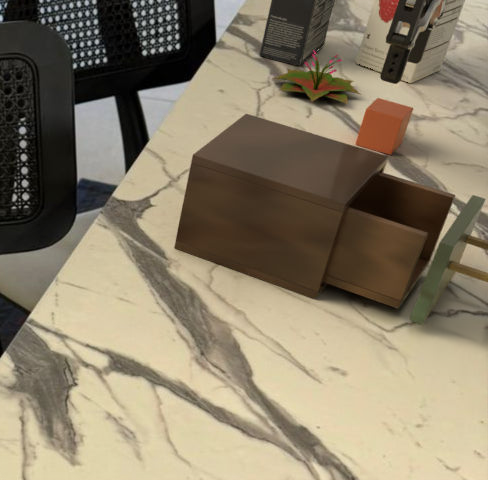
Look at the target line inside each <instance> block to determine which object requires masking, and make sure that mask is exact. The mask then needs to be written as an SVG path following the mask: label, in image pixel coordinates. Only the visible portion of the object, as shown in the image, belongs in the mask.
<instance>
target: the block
mask: <svg viewBox="0 0 488 480" xmlns="http://www.w3.org/2000/svg"><path fill="white" fill-rule="evenodd" d="M413 111H414V107H411V106H408V105H405V104H401V103H397V102H394V101H391V100H387V99H383V98H381V97H376V99H375V100H374V101H373V102H372V103H370V104H369V106H367V107H366V108H365V112H364V115H363V118H362V121H361V124H360V127H359V130H358V134H357V136H356V141H355V146H356V145H357V146H358V147H361V148H364V149H368V150H371V151H372V150H373V151H374V152H375V151H376V152H378V153H382V154H384V155H385V154H386V155H389V156H391V155H392V154H393V153H395V151H396V150H397V149H398V148H399V147H400V146H401V144H402V143H403V140H404V137H405V135H406V132H407V128H408V126H409V123H410V120H411V118H412V114H413Z"/></svg>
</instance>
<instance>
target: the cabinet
mask: <svg viewBox="0 0 488 480" xmlns="http://www.w3.org/2000/svg"><path fill="white" fill-rule="evenodd" d="M388 160H389V156H388V155H387V154H386V155H385V154H383V153H382V154H381V153H380V152H377V151H376V152H375V151H372V150H370V149H367V148H363V147H360V146H356V145H352V144H349V143H345V142H343V141H339V140H335V139H332V138H330V137H329V138H328V137H326V136H322V135H319V134H315V133H313V132H309V131H306V130H303V129H298V128H296V127H292V126H290V125H286V124H282V123H279V122H276V121H274V120H273V121H272V120H269V119H266V118H263V117H260V116H256V115H252V114H249V113H245V114H243V115H242V116H241V117H240V118H238V119H237V120H235V121H234V122H233V123H232V124H230V125H229V126H228V127H227V128H225V129H224V130H222V131H221V132H220V133H219V134H218V135H216V136H215V137H214V138H213V139H211V140H210V141H208V142H207V143H206V144H205V145H203V146H202V147H201V148H199V149H198V150H197V151H195V153H193V154H192V157H191V163H190V167H189V172H188V177H187V182H186V187H185V192H184V197H183V202H182V207H181V211H180V216H179V222H178V228H177V231H176V236H175V242H174V247H173V248H174V249H176V250H179V251H181V252H184V253H187V254H189V255H193V256H195V257H198V258H201V259H203V260H206V261H209V262H212V263H214V264H216V265H220V266H223V267H225V268H228V269H231V270H234V271H237V272H239V273H242V274H244V275H247V276H250V277H254V278H257V279H258V280H260V281H261V280H262V281H264V282H267V283H269V284H273V285H275V286H278V287H280V288H283V289H286V290H288V291H291V292H294V293H297V294H300V295H303V296H306V297H308V298H310V299H313V300H316V299H317V298H318V297H319V296H320V294H321V293H322V292H323V290H325V288H326V287H327V286H328V284H327V283H324V282H323V279H324V276H325V273H326V270H327V267H328V264H329V260H330V257H331V254H332V251H333V248H334V245H335V242H336V238H337V235H338V232H339V229H340V226H341V223H342V219H343V216H344V213H345V209H346V208H347V207H348V206H349V205H350V204H351V203H352V201H353V200H354V199H355V198H356V197H357V196H358V195H359V194H360V193H361V191H362V190H363V189H364V188H365V187H366V186H367V185H368V184H369V182H370V181H371V180H372V179H373V178H374V177H375V176H376V175H377V174H378V172H382V173H385V169H386V166H387V163H388Z"/></svg>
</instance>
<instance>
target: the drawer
mask: <svg viewBox="0 0 488 480" xmlns="http://www.w3.org/2000/svg"><path fill="white" fill-rule="evenodd" d="M455 198H456V194H454V193H450V192H447V191H445V190H444V191H443V190H442V189H441V190H440V189H438V188H434V187H432V186H427V185H424V184H422V183H418V182H415V181H411V180H409V179H405V178H401V177H399V176H395V175H392V174H389V173H386V172H383V173H382V172H378V174H377V175H376V176H375V177H374V178H373V179H372V180H371V181H370V182H369V184H368V185H367V186H366V187H365V188H364V189H363V190H362V191H361V193H360V194H359V195H358V196H357V197H356V198H355V199H354V200H353V201H352V203H351V204H350V205H349V206H348V207H347V208H346V209H345V213H344V216H343V219H342V223H341V226H340V229H339V232H338V235H337V238H336V242H335V245H334V248H333V251H332V254H331V257H330V260H329V264H328V267H327V270H326V273H325V276H324V279H323V282H324V283H327V285H331V286H333V287H336V288H338V289H342V290H344V291H346V292H350V293H353V294H355V295H358V296H361V297H364V298H367V299H369V300H372V301H376V302H379V303H381V304H384V305H386V306H390V307H392V308H395V309H399V308H400V307H401V305H402V304H403V303H404V301H405V300H406V298H407V297H408V295H409V294H410V292H411V291H412V290H413V288H414V287H415V285H416V284H417V283H418V281H419V279H420V278H421V276H422V275H423V273H424V272H425V270H426V269H427V268H428V266H429V264H430V266H429V269H428V272H427V274H426V277H425V279H424V282H423V285H422V287H421V289H420V292H419V294H418V297H417V299H416V302H415V303H414V307H413V309H412V312H411V315H410V317H409V321H410V322H414V323H416V324H419V325H423V324H424V323H425V322H426V320H427V318H428V317H429V316H430V313H431V312H432V311H433V309H434V308H435V306H436V305H437V302H438V301H439V299H440V298H441V296H442V295H443V294H444V292H445V290H446V289H447V287H448V285H449V283H450V282H451V281H452V279H453V277H454V276H455V274H456V273H458V274H462V275H464V276H467V277H471V278H474V279H476V280H480V281H483V282H486V283H488V272H487V271H485V270H481V269H477V268H475V267H472V266H469V265H466V264H463V263H460V262H461V259H463V255H464V253H465V250H466V248H467V245H471V246H474V247H477V248H479V249H483V250H486V251H488V240H486V239H483V238H480V237H477V236H474V235H472V233H473V230H474V229H475V226H476V224H477V221H478V219H479V216H480V214H481V212H482V209H483V207H484V204H485V202H486V198H485V197H481V196H478V195H475V194H472V195H471V197H470V198H469V199H468V201H467V202H466V204H465V205H464V206H463V208H462V209H461V210H460V212H459V213H458V215H457V217H456V218H455V220H454V221H453V222H452V224H451V225H450V227H449V229H448V230H447V231H446V233H445V234H444V236H443V237H442V238H441V240H440V236H441V234H442V231H443V229H444V226H445V223H446V221H447V218H448V216H449V214H450V212H451V208H452V206H453V203H454V201H455ZM439 240H440V241H439ZM437 245H438V246H437ZM436 247H437V248H436ZM435 250H436V251H435ZM434 252H435V253H434ZM433 254H434V256H433ZM432 257H433V259H432ZM431 259H432V261H431ZM430 262H431V263H430Z"/></svg>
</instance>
